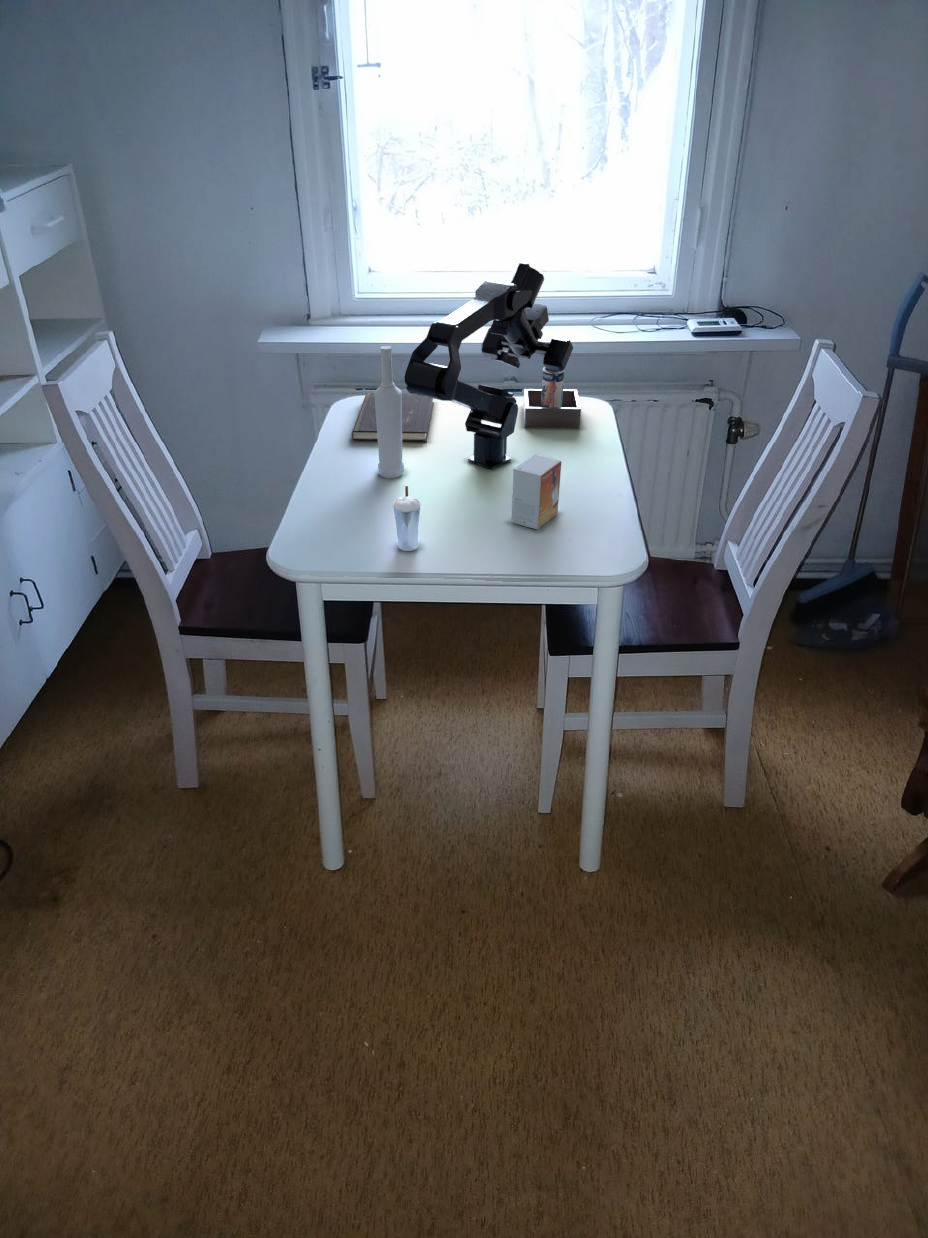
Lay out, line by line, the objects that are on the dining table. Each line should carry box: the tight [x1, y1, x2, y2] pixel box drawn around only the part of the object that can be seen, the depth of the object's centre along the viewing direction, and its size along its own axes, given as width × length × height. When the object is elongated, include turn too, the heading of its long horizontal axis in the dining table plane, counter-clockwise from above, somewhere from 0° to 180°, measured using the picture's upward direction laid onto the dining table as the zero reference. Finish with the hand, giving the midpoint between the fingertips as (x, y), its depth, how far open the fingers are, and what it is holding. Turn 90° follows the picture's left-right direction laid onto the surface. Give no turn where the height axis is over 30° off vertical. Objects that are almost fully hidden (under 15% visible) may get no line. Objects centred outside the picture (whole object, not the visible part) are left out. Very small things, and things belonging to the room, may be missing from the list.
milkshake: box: [392, 485, 421, 552], centre depth 155 cm, size 5×5×10 cm
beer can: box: [541, 367, 566, 408], centre depth 203 cm, size 5×5×12 cm
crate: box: [522, 388, 582, 429], centre depth 206 cm, size 12×12×4 cm
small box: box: [510, 454, 562, 530], centre depth 163 cm, size 8×6×10 cm
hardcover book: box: [351, 392, 435, 443], centre depth 204 cm, size 16×23×2 cm
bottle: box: [373, 345, 405, 479], centre depth 175 cm, size 5×5×25 cm
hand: (537, 369), depth 194 cm, fingers open, 9 cm apart
